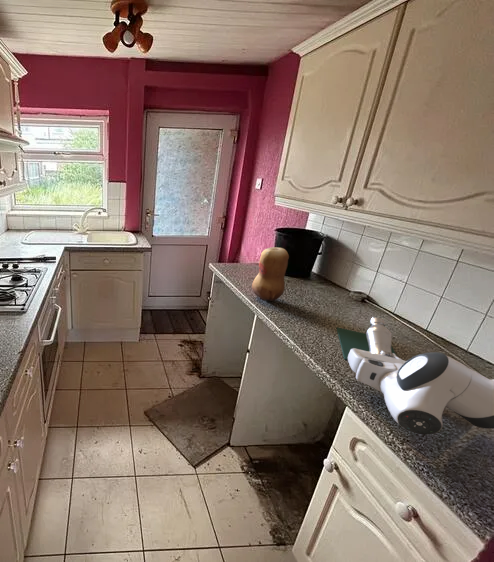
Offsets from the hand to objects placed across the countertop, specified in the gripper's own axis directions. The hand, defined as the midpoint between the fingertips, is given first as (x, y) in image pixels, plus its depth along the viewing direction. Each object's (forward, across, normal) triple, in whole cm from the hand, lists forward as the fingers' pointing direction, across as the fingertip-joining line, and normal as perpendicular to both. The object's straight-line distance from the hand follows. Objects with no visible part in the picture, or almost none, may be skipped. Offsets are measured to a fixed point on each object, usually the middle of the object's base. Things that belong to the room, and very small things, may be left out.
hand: (387, 354), depth 92 cm
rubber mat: (+17, 0, +8) cm, 19 cm away
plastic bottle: (-3, 0, +6) cm, 7 cm away
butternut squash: (+44, +35, +9) cm, 57 cm away
